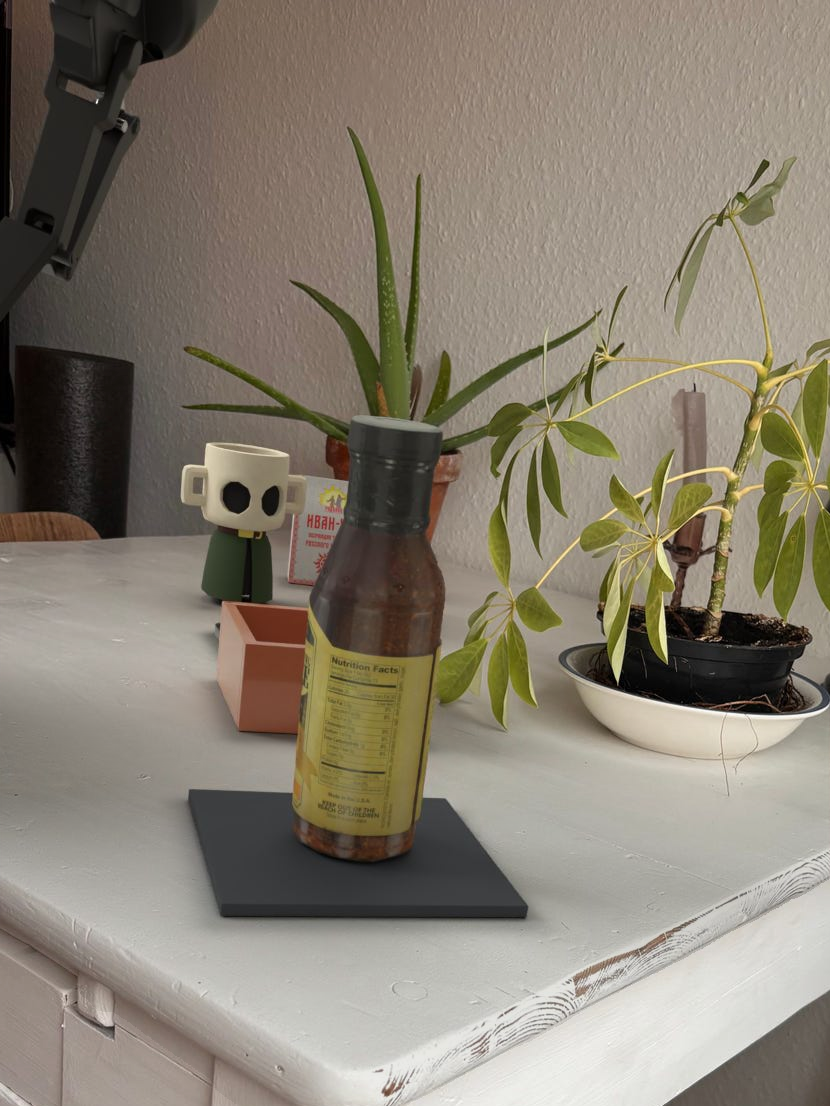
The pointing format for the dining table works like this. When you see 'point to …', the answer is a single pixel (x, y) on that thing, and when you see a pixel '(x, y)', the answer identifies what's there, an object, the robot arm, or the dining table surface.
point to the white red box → (315, 528)
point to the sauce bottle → (372, 652)
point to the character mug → (242, 515)
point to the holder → (262, 664)
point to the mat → (343, 865)
